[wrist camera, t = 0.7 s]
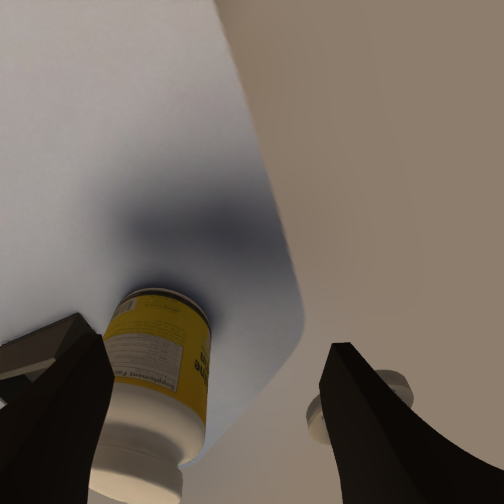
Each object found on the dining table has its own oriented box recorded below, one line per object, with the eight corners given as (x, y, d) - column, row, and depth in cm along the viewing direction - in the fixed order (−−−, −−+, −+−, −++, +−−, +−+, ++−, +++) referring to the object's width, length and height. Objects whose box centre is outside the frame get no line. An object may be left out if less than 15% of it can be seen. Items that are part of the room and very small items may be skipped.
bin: (176, 417, 25) (171, 459, 21) (87, 429, 27) (77, 462, 23) (78, 312, 19) (53, 357, 15) (0, 346, 21) (-21, 379, 17)
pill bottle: (181, 370, 22) (164, 518, 11) (103, 328, 20) (47, 475, 9) (232, 316, 20) (234, 497, 9) (142, 262, 18) (67, 441, 7)
